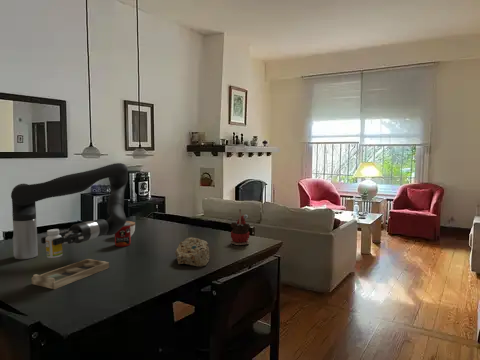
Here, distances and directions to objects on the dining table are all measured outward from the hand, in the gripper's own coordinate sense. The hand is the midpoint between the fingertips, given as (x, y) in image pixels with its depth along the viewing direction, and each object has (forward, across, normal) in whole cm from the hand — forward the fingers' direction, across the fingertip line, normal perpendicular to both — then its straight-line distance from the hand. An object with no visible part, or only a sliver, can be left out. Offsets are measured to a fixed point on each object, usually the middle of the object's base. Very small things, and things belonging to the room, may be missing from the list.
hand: (47, 241), depth 137 cm
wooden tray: (-10, 0, +16) cm, 19 cm away
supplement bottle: (-3, 0, +6) cm, 7 cm away
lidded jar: (-68, -26, +17) cm, 75 cm away
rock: (-48, +31, +17) cm, 59 cm away
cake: (-82, +38, +17) cm, 92 cm away
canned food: (-54, -15, +17) cm, 59 cm away
